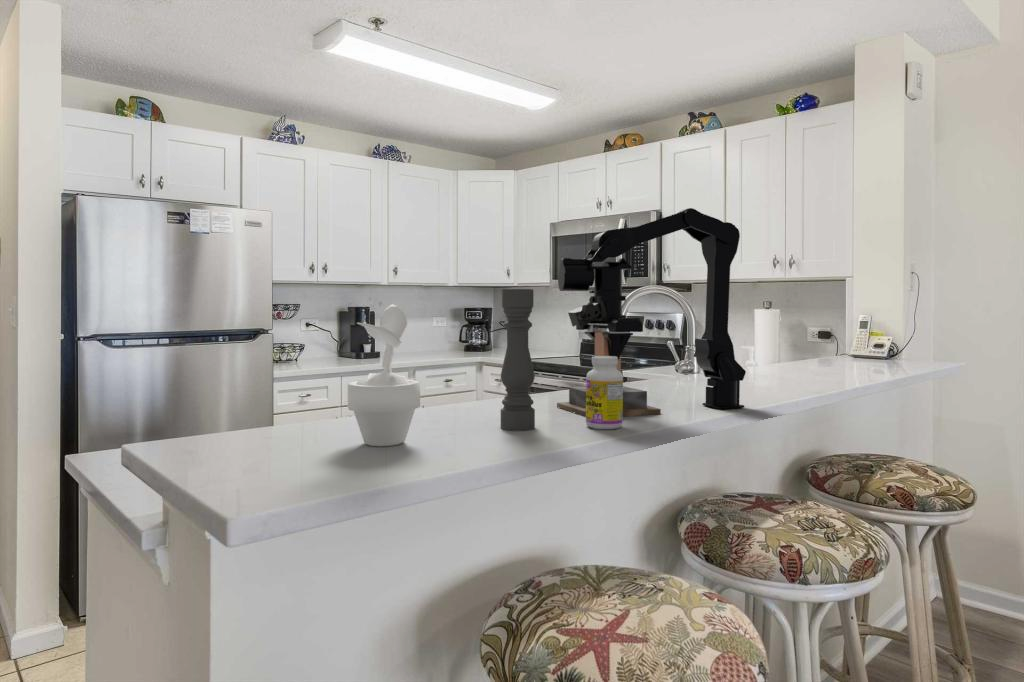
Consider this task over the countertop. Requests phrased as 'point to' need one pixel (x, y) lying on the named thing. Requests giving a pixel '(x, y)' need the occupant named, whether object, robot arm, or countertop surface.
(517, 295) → the candle holder
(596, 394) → the supplement bottle
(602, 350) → the peg
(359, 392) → the potted plant
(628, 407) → the socket
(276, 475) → the countertop surface
